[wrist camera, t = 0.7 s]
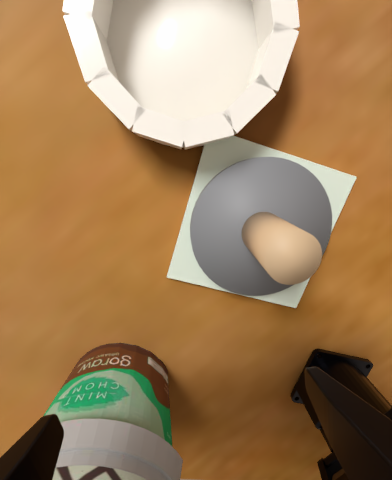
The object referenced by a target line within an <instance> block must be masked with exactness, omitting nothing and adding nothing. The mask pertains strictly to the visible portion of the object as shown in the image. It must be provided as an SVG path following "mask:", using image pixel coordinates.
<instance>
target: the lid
mask: <svg viewBox="0 0 392 480" xmlns="http://www.w3.org/2000/svg"><path fill="white" fill-rule="evenodd" d="M331 229H332V210H331V205H330V201H329V198H328V195H327V193H326V191H325V189H324V187H323V186H322V184H321V183H320V181H319V180H318V179H317V178H316V177H315V175H314V174H312V173H311V172H310V171H309V170H308V169H306V168H305V167H303V166H301V165H300V164H298V163H296V162H293V161H291V160H288V159H284V158H279V157H256V158H250V159H245V160H242V161H239V162H237V163H234V164H232V165H230V166H228V167H227V168H225V169H224V170H222V171H220V172H219V173H218V174H217V175H216V176H214V177H213V178H212V179H211V180H210V181H209V183H208V184H207V185H206V186H205V187H204V189H203V190H202V192H201V193H200V195H199V197H198V199H197V201H196V203H195V206H194V208H193V211H192V216H191V222H190V238H191V244H192V250H193V253H194V256H195V258H196V260H197V262H198V264H199V266H200V268H201V269H202V270H203V272H204V273H205V274H206V275H207V276H208V278H209V279H211V280H212V281H213V282H214V283H215V284H217V285H218V286H220V287H222V288H223V289H226V290H228V291H230V292H233V293H236V294H240V295H246V296H263V295H269V294H273V293H277V292H280V291H282V290H285V289H287V288H289V287H291V286H293V285H294V284H298V283H301V282H304V281H305V280H307V279H309V278H310V277H311V276H312V275H313V274H314V273H315V272H316V270H317V269H318V267H319V265H320V263H321V259H322V255H323V254H324V252H325V250H326V247H327V245H328V242H329V239H330V235H331Z"/></svg>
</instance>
